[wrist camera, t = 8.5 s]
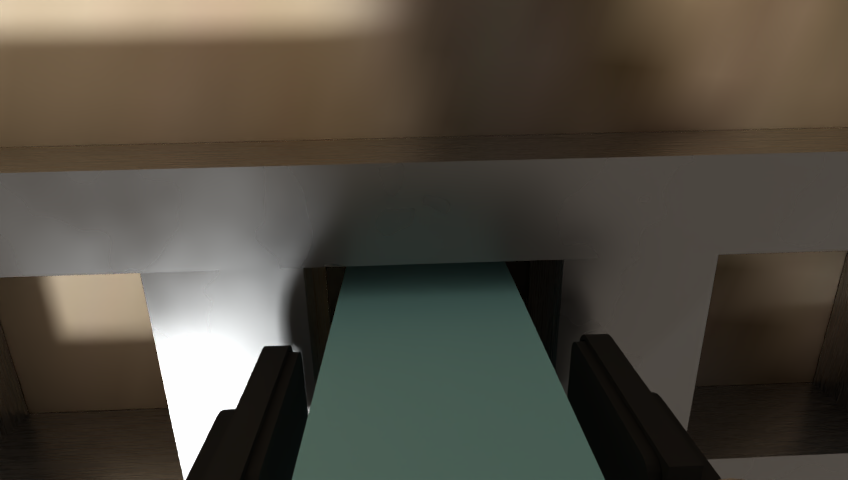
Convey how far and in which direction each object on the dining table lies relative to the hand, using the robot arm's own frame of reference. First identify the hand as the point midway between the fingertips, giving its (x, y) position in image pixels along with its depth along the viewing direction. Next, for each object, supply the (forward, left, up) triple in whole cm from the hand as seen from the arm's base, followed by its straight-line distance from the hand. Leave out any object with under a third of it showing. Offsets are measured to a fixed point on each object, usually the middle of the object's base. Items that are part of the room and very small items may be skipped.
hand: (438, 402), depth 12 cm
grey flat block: (0, 0, -4) cm, 4 cm away
